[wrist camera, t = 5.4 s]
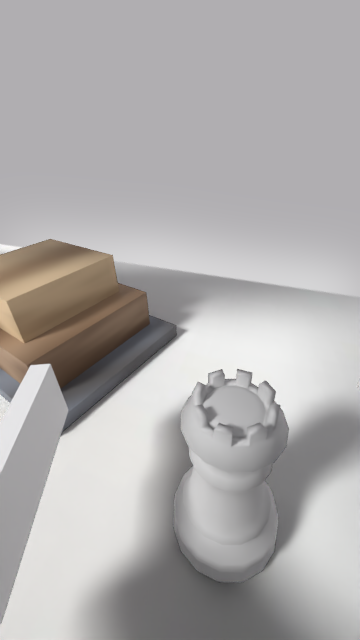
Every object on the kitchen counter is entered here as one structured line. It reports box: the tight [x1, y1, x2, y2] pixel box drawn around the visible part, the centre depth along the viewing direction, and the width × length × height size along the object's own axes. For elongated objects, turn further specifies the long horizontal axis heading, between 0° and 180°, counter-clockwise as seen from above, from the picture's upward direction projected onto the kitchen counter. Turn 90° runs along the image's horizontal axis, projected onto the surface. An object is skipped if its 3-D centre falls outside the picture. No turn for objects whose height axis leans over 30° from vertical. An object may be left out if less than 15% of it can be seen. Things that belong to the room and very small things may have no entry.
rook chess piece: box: [173, 369, 289, 582], centre depth 11 cm, size 4×4×8 cm
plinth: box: [0, 239, 177, 431], centre depth 23 cm, size 16×12×7 cm
